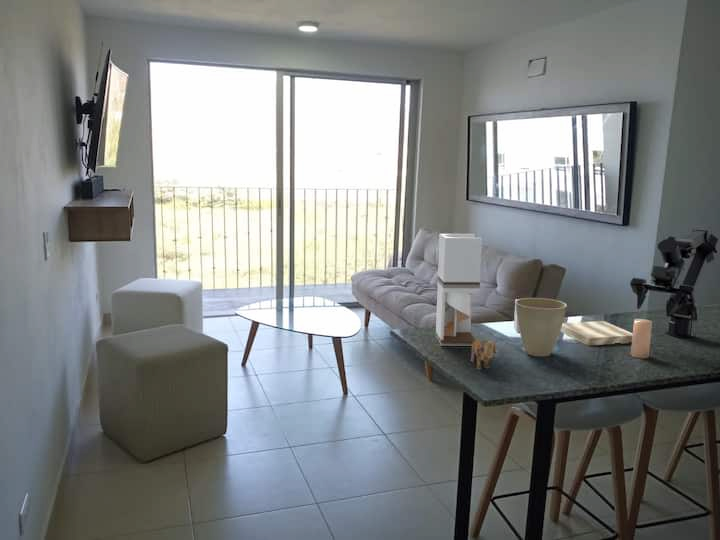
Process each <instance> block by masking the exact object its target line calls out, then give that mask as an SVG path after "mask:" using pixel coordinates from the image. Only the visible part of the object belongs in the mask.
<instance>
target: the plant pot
mask: <svg viewBox="0 0 720 540" xmlns="http://www.w3.org/2000/svg"><path fill="white" fill-rule="evenodd" d="M566 311H567V303H565V302H563V301H561V300H556V299H551V298H544V297H543V298H541V297H527V298H525V297H524V298H519V299H517V301H516V312H517V320H518V325H519V330H520V332H519V334H520V338H521V339H520V340H521V341H522V345H523V348H524V350H525V353H526V354H527V355H529V356H533V357H539V358H540V357H543V358H544V357H548V356H550V355H551V354H552V352H553V350H554V347H555V345H556V344H557V341H558V338H559V335H560V333H561V332H560V330H561V327H562V323H564V319H565V315H566Z"/></svg>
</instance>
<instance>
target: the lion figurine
mask: <svg viewBox="0 0 720 540" xmlns="http://www.w3.org/2000/svg"><path fill="white" fill-rule="evenodd" d="M499 350H500V348H498V347H497V346H496V345H495V344H494V340H484V341H482V340H481V339H476V340H475V341H474V342H473V344H472V347H471V353H469V356H470V360H469V362H470V361H471V362H472V363H474V362H475V361H474V359H475V358H474V357H475V356H476V370H477V369H481V370H482V366H481V362H482V361H484V365H483V367H485V368H489V369H490V366H488V364H489V361H490V359H491V358H493V356H494V355H495V356H497V354H498V353H499ZM471 362H470V363H471ZM485 368H484V369H485Z"/></svg>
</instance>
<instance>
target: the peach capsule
mask: <svg viewBox="0 0 720 540" xmlns="http://www.w3.org/2000/svg"><path fill="white" fill-rule="evenodd" d="M652 326H653V321H652V320H649V319H645V318H635V319H633V328H632V333H633V335H632V343H631V346H630V356H631V355H632V357H633V356H634V357H633V358H636V357H638V358H637V359H648V358H649V357H650V356H649V355H650V348H651V347H650V346H651V338H652V329H653V327H652Z"/></svg>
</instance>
